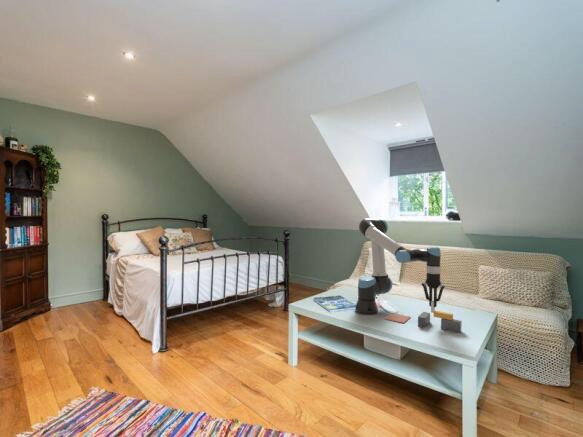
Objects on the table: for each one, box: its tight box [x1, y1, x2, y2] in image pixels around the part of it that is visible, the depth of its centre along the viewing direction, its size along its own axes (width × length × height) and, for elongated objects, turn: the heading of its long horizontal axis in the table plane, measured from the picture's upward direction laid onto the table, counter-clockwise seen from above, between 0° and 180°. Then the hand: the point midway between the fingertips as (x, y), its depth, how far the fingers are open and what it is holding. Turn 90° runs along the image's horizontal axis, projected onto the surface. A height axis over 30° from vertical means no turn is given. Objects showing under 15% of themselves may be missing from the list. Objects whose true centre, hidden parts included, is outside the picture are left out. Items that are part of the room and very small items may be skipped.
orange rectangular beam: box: [433, 310, 454, 320], centre depth 181 cm, size 10×3×3 cm, turn 52°
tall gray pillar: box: [417, 311, 431, 328], centre depth 188 cm, size 4×12×6 cm, turn 143°
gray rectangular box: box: [440, 318, 463, 334], centre depth 178 cm, size 10×4×6 cm, turn 52°
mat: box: [384, 312, 412, 324], centre depth 198 cm, size 12×14×1 cm
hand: (432, 311), depth 184 cm, fingers closed
